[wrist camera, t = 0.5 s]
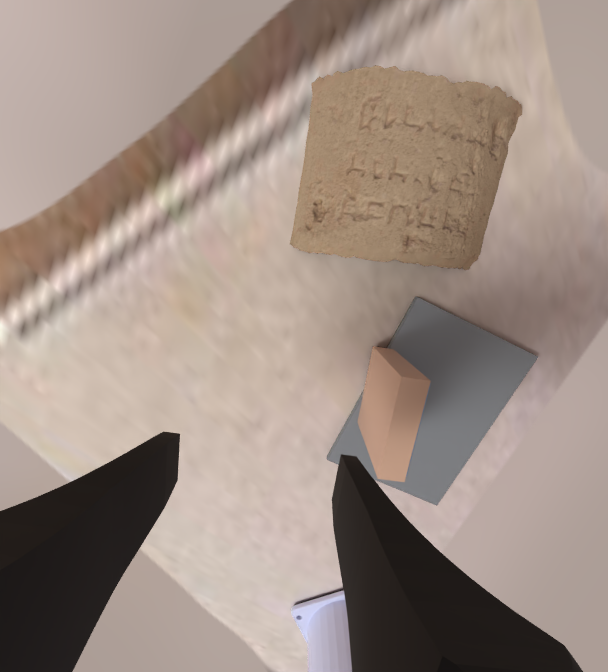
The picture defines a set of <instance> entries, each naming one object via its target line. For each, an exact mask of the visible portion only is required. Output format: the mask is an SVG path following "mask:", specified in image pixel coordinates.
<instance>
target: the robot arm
mask: <svg viewBox="0 0 608 672" xmlns="http://www.w3.org/2000/svg"><path fill="white" fill-rule="evenodd" d="M179 442H180V434H178V433H170V432H162V433H160V434H158V435H157V436H155V437H153V438H151V439H150V440H148V441H146V442H144V443H143V444H141V445H139V446H137V447H136V448H134V449H132V450H130V451H129V452H127V453H125V454H123V455H122V456H120V457H118V458H116V459H114V460H113V461H111V462H109V463H107V464H105V465H103V466H101V467H99V468H97V469H95V470H94V471H92V472H90V473H88V474H86V475H84V476H82V477H80V478H78V479H76V480H74V481H72V482H70V483H68V484H66V485H63V486H61V487H59V488H57V489H54V490H52V491H50V492H48V493H45V494H43V495H41V496H38V497H36V498H33V499H31V500H29V501H26V502H23V503H21V504H18V505H16V506H13V507H10V508H8V509H5V510H2V511H0V672H72V671H73V669H74V667H75V665H76V663H77V661H78V659H79V657H80V655H81V653H82V651H83V649H84V647H85V645H86V643H87V641H88V639H89V637H90V635H91V633H92V631H93V629H94V627H95V626H96V623H97V622H98V620H99V618H100V615H101V614H102V612H103V610H104V608H105V606H106V604H107V602H108V600H109V599H110V597H111V595H112V593H113V591H114V589H115V587H116V586H117V584H118V582H119V581H120V579H121V577H122V575H123V574H124V572H125V570H126V569H127V567H128V566H129V564H130V562H131V561H132V559H133V558H134V556H135V554H136V553H137V551H138V550H139V548H140V547H141V545H142V543H143V542H144V540H145V539H146V537H147V535H148V534H149V532H150V530H151V529H152V527H153V526H154V524H155V522H156V521H157V519H158V517H159V516H160V514H161V513H162V511H163V509H164V508H165V506H166V504H167V501H168V499H169V497H170V495H171V493H172V491H173V489H174V487H175V484H176V482H177V480H178V461H179ZM332 509H333V526H334V534H335V540H336V546H337V552H338V558H339V564H340V571H341V577H342V583H343V589H344V590H343V591H339V592H336V593H333V594H330V595H326V596H323V597H320V598H317V599H313V600H310V601H307V602H304V603H300V604H297V605H294V606H293V607H292V610H291V614H292V616H293V618H294V620H295V622H296V623H297V625H298V627H299V629H300V631H301V633H302V634H303V636H304V638H305V640H306V642H307V644H308V672H583V671H582V670H581V668H580V667H579V665H578V664H577V662H576V661H575V660H574V658H573V657H572V655H571V654H570V653H569V651H568V650H567V649H566V647H565V646H564V645H563V644H562V643H560V642H558V641H557V640H556V639H554V638H553V637H551V636H550V635H548V634H547V633H545V632H544V631H542V630H541V629H540V628H538V627H537V626H535V625H534V624H532V623H531V622H529V621H528V620H526V619H525V618H523V617H522V616H520V615H519V614H517V613H516V612H514V611H513V610H512V609H510V608H509V607H508V606H506V605H505V604H504V603H502V602H501V601H500V600H498V599H497V598H496V597H494V596H493V595H492V594H490V593H489V592H487V591H486V590H485V589H484V588H482V587H481V586H480V585H479V584H477V583H476V582H475V581H474V580H472V579H471V578H470V577H469V576H467V575H466V574H465V573H464V572H463V571H461V570H460V569H459V568H458V567H457V566H456V565H454V564H453V563H452V562H451V561H450V560H449V559H447V558H446V557H445V556H444V555H443V554H442V553H441V552H440V551H439V550H437V549H436V548H435V547H434V546H433V545H432V544H431V543H430V542H429V541H428V540H427V539H426V538H425V537H424V536H423V535H422V534H421V533H420V532H419V531H418V530H417V529H416V528H415V527H414V526H413V525H412V524H411V523H410V522H409V521H408V520H407V519H406V518H405V516H404V515H403V514H402V513H401V512H400V511H399V510H398V509H397V507H396V506H395V505H394V504H393V503H392V502H391V500H390V499H389V498H388V497H387V496H386V494H385V493H384V492H383V491H382V489H381V488H380V487H379V486H378V484H377V483H376V482H375V480H374V479H373V478H372V476H371V475H370V474H369V472H368V471H367V470H366V468H365V467H364V466H363V464H362V463H361V462H360V460H359V459H358V458H357V456H351V455H343V454H341V456H340V461H339V466H338V471H337V476H336V481H335V486H334V492H333V497H332Z"/></svg>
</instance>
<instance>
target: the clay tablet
mask: <svg viewBox="0 0 608 672" xmlns="http://www.w3.org/2000/svg"><path fill="white" fill-rule="evenodd" d="M312 92H313V97H312V103H311V110H310V121H309V129H308V135H307V141H306V150H305V158H304V165H303V171H302V176H301V182H300V188H299V194H298V204H297V207H296V214H295V220H294V227H293V232H292V236H291V241H290V244H291V245H292V246H293V247H294V248H298V249H299V250H301V251H305V252H308V253H312V252H315V253H317V254H318V253H321V252H322V253H325V254H329V255H332V254H337V255H338V256H341V257H345V258H347V257H349V258H350V257H353V256H355V257H357V258H362V259H366V260H373V261H382V262H388V261H391V260H394V259H396V260H398V261H400V262H403V263H413V264H416V263H419V264H420V265H423V266H430V265H435V266H438V267H442V268H443V267H447V268H452V267H453V268H457V267H458V269H461V268H462V267H463V269H464V270H468V269H469V268H470V266H471V265H472V264H473V262H475V261H476V260H477V259H478V256H479V255H480V252H481V247H482V243H483V237H484V234H485V231H486V228H487V224H488V219H489V215H490V212H491V209H492V206H493V203H494V199H495V195H496V192H497V189H498V184H499V180H500V177H501V173H502V170H503V166H504V163H505V159H506V157H507V154H508V143H509V140H510V138H511V136H512V134H513V132H514V130H515V128H516V124H517V120H518V117H519V116H521V115H522V106H521V104H519V102H518V101H516V100H515V99H514V100H513V98H512V96H511V97H508V98H506V92H504V91H502V90H501V89H500V88H499V87H497V86H495V87H494V88H493V89H491V88H490V87H489V86H487V85H485V84H483V83H478V82H469V81H466V82H463V83H460V82H457V83H454V84H453V83H451V82H449V81H448V79H447V78H445V77H444V76H442V75H441V76H437V77H436V76H427V75H425V74H424V73H420V72H415V71H405V72H403V71H401V70H399V69H398V68H397V67H396V66H393V67H390V68H386V69H384V68H383V67H381V66H376V65H375V66H373V67H371V68H369V67H363V68H360V69H354V70H350V71H348V72H345V73H342V72H338V71H337V72H336V73H334V74H333V76H330V75H327V76H325V78H324V79H323V78H321V77H319V78H317V80H316V81H315V82H313V83H312Z"/></svg>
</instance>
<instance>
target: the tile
mask: <svg viewBox="0 0 608 672" xmlns="http://www.w3.org/2000/svg"><path fill="white" fill-rule="evenodd" d="M430 382H431V381H430V380H429V379H428V378H427V377H426V376H424V375H423V374H422V373H421V372H420V371H419V370H417V369H416V368H415V367H414V366H413V365H412V364H410V363H409V362H408V361H407V360H406V359H405V358H403V357H402V356H401V355H400V354H399V353H397V352H396V351H395V350H394V349H389V348H382V347H374V346H373V348H372V353H371V358H370V363H369V368H368V373H367V378H366V383H365V387H364V392H363V397H362V402H361V407H360V412H359V417H358V425H359V428H360V431H361V434H362V436H363V439H364V442H365V445H366V447H367V450H368V453H369V456H370V459H371V461H372V464H373V467H374V470H375V473H376V475H377V478H378V479H383V480H391V481H399V482H405V478H406V477H407V474H408V470H409V466H410V462H411V458H412V454H413V451H414V447H415V443H416V439H417V435H418V431H419V427H420V424H421V420H422V416H423V412H424V408H425V404H426V401H427V397H428V393H429V389H430V385H431V383H430Z"/></svg>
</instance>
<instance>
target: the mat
mask: <svg viewBox="0 0 608 672" xmlns="http://www.w3.org/2000/svg"><path fill="white" fill-rule="evenodd" d="M387 348H389V349H394V350H395V351H396V352H397V353H399V354H400V355H401V356H402V357H403V358H405V359H406V360H407V361H408V362H409V363H410V364H412V365H413V366H414V367H415V368H416V369H417V370H419V371H420V372H421V373H422V374H423V375H424V376H426V377H427V378H428V379H429V380H430V381H431V382H430V383H431V385H430V389H429V393H428V397H427V401H426V404H425V408H424V412H423V416H422V420H421V424H420V427H419V431H418V435H417V439H416V443H415V447H414V451H413V454H412V458H411V462H410V466H409V470H408V474H407V477H406V478H405V482H399V481H391V480H383V479H378V478H377V475H376V473H375V470H374V467H373V464H372V461H371V459H370V456H369V453H368V450H367V447H366V445H365V442H364V439H363V436H362V434H361V431H360V428H359V425H358V417H359V412H360V407H361V402H362V397H363V392H364V390H363V392H362V394H361V396H360V398H359V399H358V401H357V403H356V405H355V407H354V408H353V410H352V412H351V414H350V416H349V417H348V419H347V421H346V423H345V425H344V426H343V428H342V430H341V432H340V434H339V435H338V437H337V439H336V441H335V443H334V444H333V446H332V448H331V450H330V452H329V453H328V455H327V460H329V461H331V462H334V463H336V464H338V465H339V461H340V456H341V454H343V455H351V456H357V458H358V459H359V460H360V462H361V463H362V464H363V466H364V467H365V468H366V470H367V471H368V472H369V474H370V475H371V476H372V478H373V479H374V480H377V481H379V482H382V483H384V484H386V485H389V486H391V487H394V488H396V489H398V490H401V491H403V492H406V493H408V494H410V495H413V496H415V497H418V498H420V499H422V500H425V501H427V502H430V503H432V504H434V505H438V503H439V502H440V500H441V499H442V497H443V496H444V494H445V493H446V492H447V490H448V489H449V487H450V486H451V484H452V483H453V481H454V480H455V478H456V477H457V475H458V474H459V472H460V471H461V470H462V468H463V467H464V465H465V464H466V462H467V461H468V459H469V458H470V456H471V455H472V453H473V452H474V451H475V449H476V448H477V446H478V445H479V443H480V442H481V440H482V439H483V437H484V436H485V434H486V433H487V431H488V430H489V429H490V427H491V426H492V424H493V423H494V421H495V420H496V418H497V417H498V415H499V414H500V412H501V411H502V409H503V408H504V407H505V405H506V404H507V402H508V401H509V399H510V398H511V396H512V395H513V393H514V392H515V390H516V389H517V388H518V386H519V385H520V383H521V382H522V380H523V379H524V377H525V376H526V374H527V373H528V371H529V370H530V368H531V367H532V366H533V364H534V363H535V361H536V360H537V358H538V356H536V355H534V354H532V353H530V352H528V351H526V350H524V349H522V348H520V347H517V346H515V345H513V344H511V343H509V342H507V341H505V340H503V339H501V338H499V337H497V336H495V335H493V334H491V333H489V332H487V331H485V330H483V329H481V328H479V327H477V326H475V325H473V324H471V323H469V322H467V321H465V320H463V319H461V318H459V317H457V316H455V315H453V314H451V313H449V312H447V311H445V310H443V309H441V308H439V307H437V306H435V305H433V304H431V303H429V302H426V301H424V300H422V299H420V298H418V297H415V298H414V300H413V302H412V304H411V306H410V307H409V309H408V311H407V313H406V315H405V316H404V318H403V320H402V322H401V324H400V325H399V327H398V329H397V331H396V333H395V334H394V336H393V338H392V340H391V342H390V343H389V345H388V347H387Z"/></svg>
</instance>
